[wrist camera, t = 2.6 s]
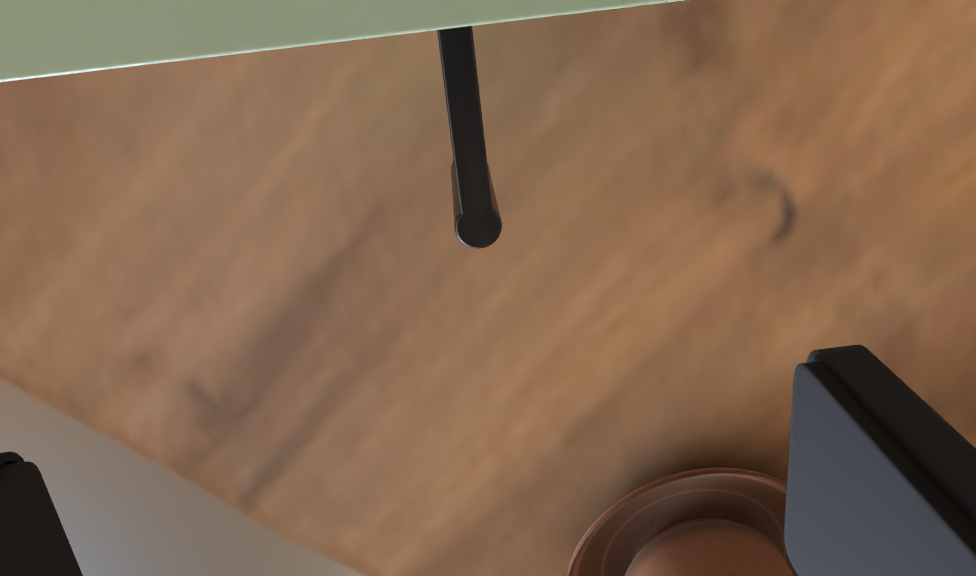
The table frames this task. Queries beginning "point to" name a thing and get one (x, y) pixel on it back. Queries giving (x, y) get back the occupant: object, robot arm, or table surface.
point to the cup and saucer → (691, 528)
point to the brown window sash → (467, 142)
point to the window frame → (228, 27)
